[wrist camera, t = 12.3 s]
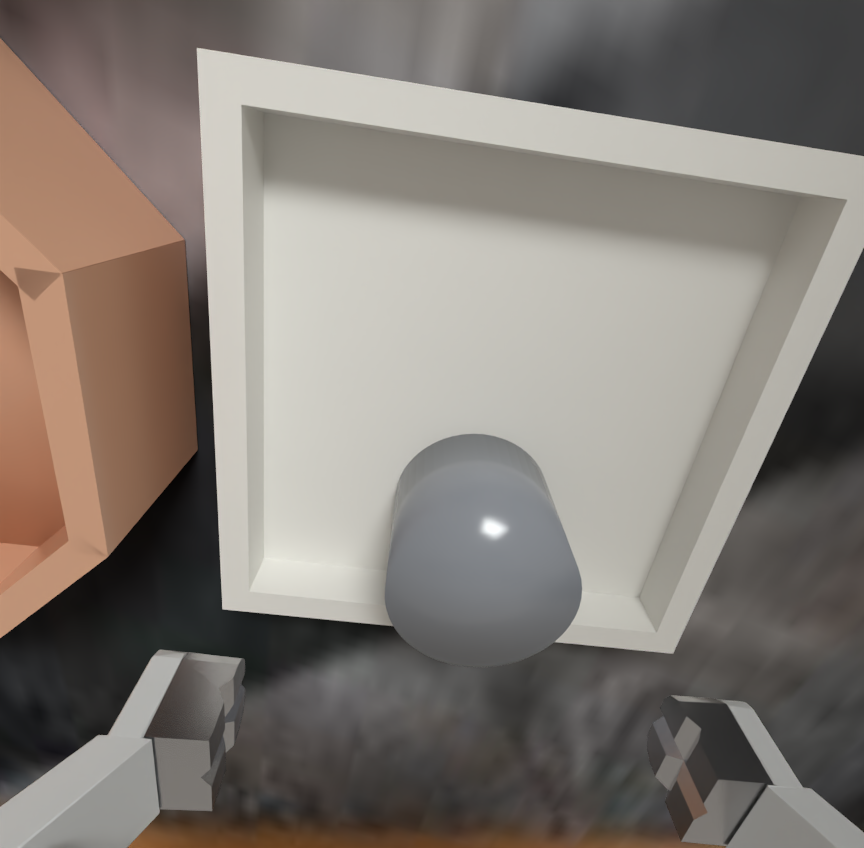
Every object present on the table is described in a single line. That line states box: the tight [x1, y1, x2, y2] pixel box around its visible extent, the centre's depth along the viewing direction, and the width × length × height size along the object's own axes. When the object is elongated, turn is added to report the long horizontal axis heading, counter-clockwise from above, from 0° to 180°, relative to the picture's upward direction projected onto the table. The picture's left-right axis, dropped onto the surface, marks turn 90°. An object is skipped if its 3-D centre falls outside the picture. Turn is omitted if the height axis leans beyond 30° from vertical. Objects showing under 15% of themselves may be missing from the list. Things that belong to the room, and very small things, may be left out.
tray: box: [197, 48, 864, 654], centre depth 14 cm, size 14×14×2 cm
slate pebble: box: [385, 434, 582, 667], centre depth 14 cm, size 5×5×4 cm
